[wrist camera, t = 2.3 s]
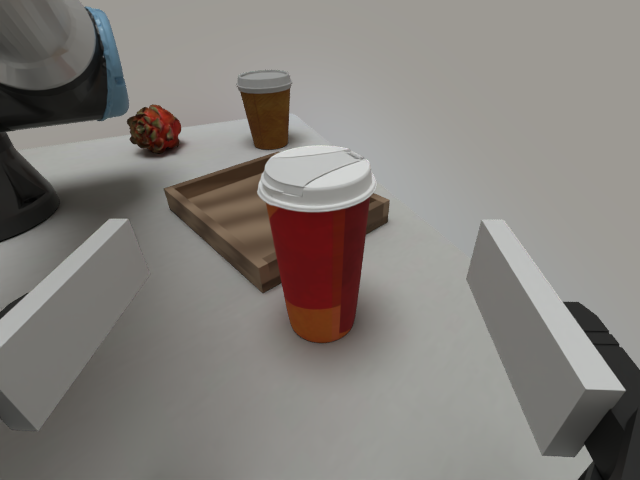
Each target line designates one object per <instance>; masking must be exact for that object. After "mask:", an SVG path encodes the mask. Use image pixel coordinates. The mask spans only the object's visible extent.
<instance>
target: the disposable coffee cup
mask: <svg viewBox="0 0 640 480" xmlns="http://www.w3.org/2000/svg"><path fill="white" fill-rule="evenodd" d="M291 84H292V80H291V79H290V76H289V73H288V72H286V71H280V70H260V71H251V72H246V73H242V74H240V75H238V83H237V84H236V85H237V87H238V89H239V91H240V92H241V96H242V100H243V104H244V108H245V111H246V115H247V119H248V122H249V126H250V130H251V134H252V138H253V141H254V145H255V147H257V148H259V149H267V150H268V149H278V148H281V147H284V146H286V145H287V144H288V125H289V101H290V88H291Z"/></svg>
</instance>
